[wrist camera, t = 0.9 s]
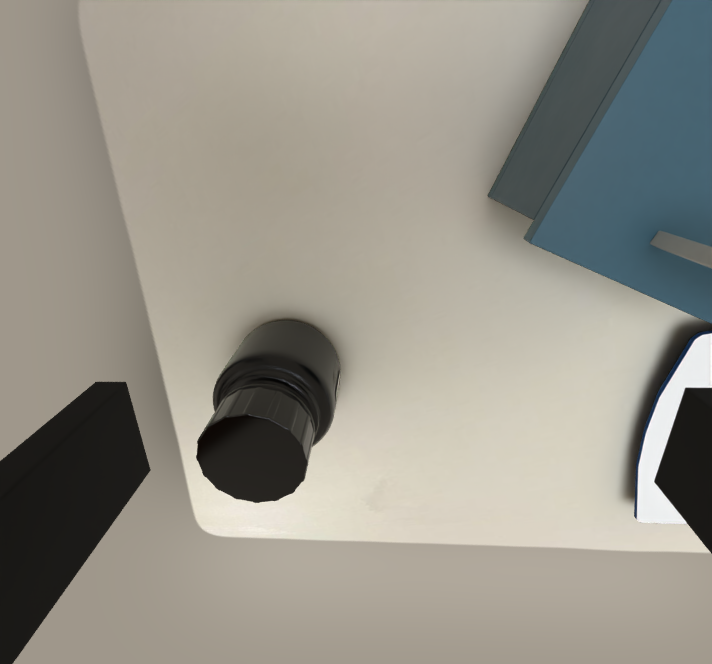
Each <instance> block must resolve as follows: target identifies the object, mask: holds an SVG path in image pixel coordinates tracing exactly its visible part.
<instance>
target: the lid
mask: <svg viewBox="0 0 712 664" xmlns="http://www.w3.org/2000/svg"><path fill="white" fill-rule="evenodd" d="M524 239H525V240H526V241H528V242H529V243H531V244H533V245H535V246H538V247H540V248H542V249H544V250H547V251H549V252H551V253H553V254H556V255H558V256H560V257H562V258H565V259H567V260H569V261H571V262H574V263H576V264H578V265H580V266H583V267H585V268H587V269H589V270H592V271H594V272H596V273H598V274H601V275H603V276H605V277H607V278H610V279H612V280H614V281H616V282H619V283H621V284H623V285H625V286H628V287H630V288H632V289H634V290H637V291H639V292H641V293H643V294H646V295H648V296H650V297H652V298H655V299H657V300H659V301H661V302H664V303H666V304H668V305H670V306H673V307H675V308H677V309H679V310H682V311H684V312H686V313H688V314H691V315H693V316H695V317H697V318H700V319H702V320H704V321H706V322H709V323H711V324H712V0H661V2H660V4H659V6H658V7H657V9H656V11H655V12H654V14H653V16H652V18H651V19H650V21H649V23H648V25H647V26H646V28H645V30H644V31H643V33H642V35H641V37H640V38H639V40H638V42H637V43H636V45H635V47H634V49H633V50H632V52H631V54H630V56H629V57H628V59H627V61H626V62H625V64H624V66H623V68H622V69H621V71H620V73H619V74H618V76H617V78H616V80H615V81H614V83H613V85H612V87H611V88H610V90H609V92H608V93H607V95H606V97H605V99H604V100H603V102H602V104H601V106H600V107H599V109H598V111H597V112H596V114H595V116H594V118H593V119H592V121H591V123H590V124H589V126H588V128H587V130H586V131H585V133H584V135H583V137H582V138H581V140H580V142H579V143H578V145H577V147H576V149H575V150H574V152H573V154H572V156H571V157H570V159H569V161H568V162H567V164H566V166H565V168H564V169H563V171H562V173H561V174H560V176H559V178H558V180H557V181H556V183H555V185H554V187H553V188H552V190H551V192H550V193H549V195H548V197H547V199H546V200H545V202H544V204H543V205H542V207H541V209H540V211H539V212H538V214H537V216H536V218H535V219H534V221H533V223H532V224H531V226H530V228H529V230H528V231H527V233H526V235H525V237H524Z"/></svg>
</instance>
